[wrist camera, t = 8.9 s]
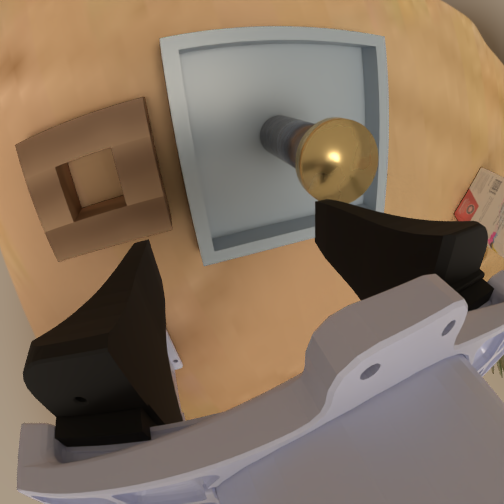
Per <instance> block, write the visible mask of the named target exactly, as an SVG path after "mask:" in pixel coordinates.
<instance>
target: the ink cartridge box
mask: <svg viewBox="0 0 504 504" xmlns="http://www.w3.org/2000/svg"><path fill="white" fill-rule="evenodd" d="M454 215H455V216H456V218H457V220H458V221H477V222H479V223H480V224H482V225H483V226H485V227H486V229H487V232H488V243H487V246H488V247H489V248H491V249H492V250H494V251H495V252H496V253H498V254H499V255H500V256H502V257H503V258H504V177H502V176H500V175H498V174H496V173H494V172H492V171H489V170H487V169H485V168H483V167H481V168H480V170H479V172H478V174H477V176H476V177H475V179H474V181H473V183H472V184H471V186H470V188H469V190H468V191H467V193H466V195H465V196H464V198H463V200H462V201H461V203H460V205H459V206H458V208H457V210H456V211H455V214H454Z"/></svg>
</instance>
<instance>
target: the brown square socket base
mask: <svg viewBox="0 0 504 504" xmlns="http://www.w3.org/2000/svg"><path fill="white" fill-rule="evenodd" d="M15 146H16V150H17V154H18V158H19V161H20V165H21V168H22V171H23V174H24V178H25V181H26V184H27V187H28V190H29V193H30V196H31V198H32V201H33V204H34V207H35V209H36V212H37V214H38V217H39V220H40V222H41V225H42V227H43V229H44V232H45V234H46V236H47V239H48V241H49V243H50V246H51V248H52V250H53V252H54V254H55V256H56V259H57V261H58V262H60V261H63V260H67V259H70V258H73V257H77V256H80V255H83V254H87V253H90V252H94V251H97V250H101V249H104V248H108V247H111V246H115V245H118V244H122V243H125V242H129V241H133V240H136V239H140V238H144V237H147V236H151V235H155V234H159V233H162V232H166V231H170V230H172V221H171V214H170V210H169V206H168V202H167V198H166V194H165V190H164V186H163V181H162V177H161V173H160V168H159V164H158V160H157V155H156V150H155V146H154V141H153V136H152V131H151V126H150V121H149V116H148V111H147V105H146V100H145V97H142V98H138V99H134V100H131V101H127V102H124V103H120V104H117V105H114V106H110V107H107V108H104V109H101V110H98V111H95V112H92V113H89V114H86V115H84V116H81V117H78V118H75V119H73V120H70V121H68V122H65V123H62V124H60V125H58V126H55V127H53V128H50V129H48V130H46V131H43V132H41V133H39V134H37V135H35V136H32V137H30V138H28V139H26V140H24V141H22V142H20V143H18V144H16V145H15ZM107 148H111V149H112V153H113V157H114V161H115V165H116V169H117V173H118V176H119V180H120V184H121V187H122V191H123V194H124V195H123V196H120V197H116V198H113V199H110V200H106V201H103V202H100V203H97V204H94V205H90V206H87V207H84V208H82V207H81V205H80V202H79V199H78V196H77V193H76V190H75V186H74V183H73V180H72V177H71V173H70V170H69V167H68V163H67V162H70V161H72V160H75V159H78V158H81V157H83V156H86V155H89V154H92V153H95V152H98V151H101V150H104V149H107Z"/></svg>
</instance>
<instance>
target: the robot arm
mask: <svg viewBox="0 0 504 504" xmlns="http://www.w3.org/2000/svg"><path fill="white" fill-rule="evenodd" d="M315 243H316V244H317V246H318V247H319V249H320V251H321V252H322V254H323V255H324V257H325V258H326V259H327V260H328V262H329V263H330V264H331V265H332V266H333V267H334V269H335V270H336V271H337V272H338V273H339V274H340V275H341V276H342V278H343V279H344V280H345V281H346V282H347V283H348V284H349V286H350V287H351V288H352V289H353V290H354V292H355V293H356V294H357V295H358V297H359V298H360V300H361V301H359V302H356V303H353V304H351V305H348V306H346V307H344V308H343V309H341V310H339V311H337V312H336V313H334V314H332V315H330V316H329V317H328V318H327V319H326V320H325V321H324V322H323V323H322V324H321V325H320V326H319V327H318V328H317V329H316V330H315V331H314V333H313V335H312V337H311V340H310V342H309V345H308V347H307V350H306V354H305V368H304V371H303V372H302V373H300V374H298V375H297V376H295V377H293V378H291V379H289V380H288V381H286V382H284V383H282V384H280V385H278V386H276V387H274V388H272V389H271V390H269V391H267V392H265V393H263V394H261V395H259V396H257V397H255V398H253V399H251V400H248V401H246V402H244V403H242V404H240V405H238V406H236V407H234V408H231V409H229V410H227V411H225V412H221V413H217V414H213V415H209V416H205V417H200V418H196V419H191V420H186V421H185V416H184V413H183V412H181V406H180V400H179V394H178V388H177V382H176V375H175V370H176V369H180V368H182V367H183V364H182V361H181V359H180V357H179V355H178V353H177V351H176V349H175V347H174V344H173V342H172V340H171V338H170V336H169V334H168V331H167V329H166V317H165V297H164V290H163V284H162V279H161V276H160V273H159V270H158V267H157V264H156V261H155V258H154V255H153V252H152V249H151V245H150V242H149V240H145V241H141V242H137V243H134V244H133V246H132V247H131V248H130V250H129V251H128V253H127V254H126V256H125V257H124V258H123V260H122V261H121V263H120V264H119V265H118V267H117V268H116V269H115V271H114V272H113V273H112V274H111V276H110V277H109V278H108V280H107V281H106V282H105V283H104V284H103V286H102V287H101V288H100V289H99V290H98V291H97V292H96V293H95V294H94V295H93V296H92V297H91V298H90V299H89V300H88V301H87V302H86V303H85V304H84V305H83V306H81V307H80V308H79V309H78V310H77V311H76V312H75V313H73V314H72V315H71V316H70V317H68V318H67V319H66V320H64V321H63V322H62V323H60V324H59V325H58V326H56V327H55V328H53V329H52V330H50V331H48V332H47V333H45V334H43V335H42V336H40V337H38V338H37V339H35V340H33V341H32V342H31V345H30V349H29V352H28V356H27V360H26V363H25V367H24V371H23V379H24V382H25V384H26V386H27V388H28V389H29V390H30V392H31V393H32V394H33V395H34V397H35V398H36V399H38V401H40V402H41V403H42V404H43V405H44V406H45V407H46V408H47V409H48V410H49V411H50V412H51V413H52V414H54V415H55V416H56V426H54V425H51V424H48V423H23V424H22V425H21V432H20V441H19V452H18V468H17V490H18V491H19V492H20V493H22V494H24V495H26V496H28V497H30V498H33V499H35V500H37V501H39V502H42V503H44V504H504V403H503V402H502V401H501V399H500V398H499V397H498V395H497V394H496V393H495V392H494V390H493V389H492V388H491V387H490V386H489V384H488V383H487V382H486V381H485V380H484V378H483V376H484V375H485V373H486V372H488V371H489V369H490V368H491V367H492V366H493V365H494V364H495V363H496V362H497V361H498V360H499V359H500V358H501V357H502V356H503V355H504V271H503V270H501V271H499V272H498V273H497V274H495V275H494V276H492V277H491V278H490V279H489V281H488V282H486V281H485V280H484V279H482V278H483V277H484V275H485V274H484V272H483V271H481V270H480V266H481V263H482V260H483V257H484V254H485V251H486V247H487V243H488V232H487V229H486V227H485V226H483V225H482V224H480V223H479V222H477V221H429V220H420V219H412V218H406V217H400V216H395V215H390V214H386V213H382V212H378V211H374V210H370V209H367V208H363V207H360V206H356V205H352V204H349V203H345V202H341V201H337V200H331V199H325V200H320V201H315Z"/></svg>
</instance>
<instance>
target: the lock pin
mask: <svg viewBox="0 0 504 504" xmlns="http://www.w3.org/2000/svg"><path fill="white" fill-rule="evenodd" d="M260 142H261V144H262V146H263V148H264V149H265V150H266V151H268V152H269V153H271V154H272V155H274V156H276V157H277V158H279V159H281V160H282V161H284V162H285V163H287V164H289V165H290V166H292V167H293V168H295V169H296V173H297V177H298V180H299V182H300V184H301V185H302V187H303V188H304V189H305V190H306V191H307V192H308V193H309V194H310V195H311V196H313V197H314V198H315V199H317V200H318V201H320V200H325V199H331V200H337V201H341V202H345V203H351V202H353V201H355V200H356V199H358V198H359V197H360V196H361V195H363V194H364V193H365V191H366V190H367V189H368V188H369V186H370V185H371V183H372V181H373V179H374V177H375V174H376V171H377V167H378V149H377V145H376V142H375V139H374V137H373V135H372V134H371V133H370V131H369V130H368V129H367V128H366V127H365V126H363V125H362V124H360V123H359V122H356V121H354V120H350V119H346V118H341V117H331V118H326V119H323V120H321V121H319V122H317V123H316V124H314V123H311V122H307V121H303V120H299V119H295V118H291V117H287V116H283V115H277V116H273V117H271V118H269V119H268V120H266V121H265V122H264V124H263V125H262V127H261V130H260Z"/></svg>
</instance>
